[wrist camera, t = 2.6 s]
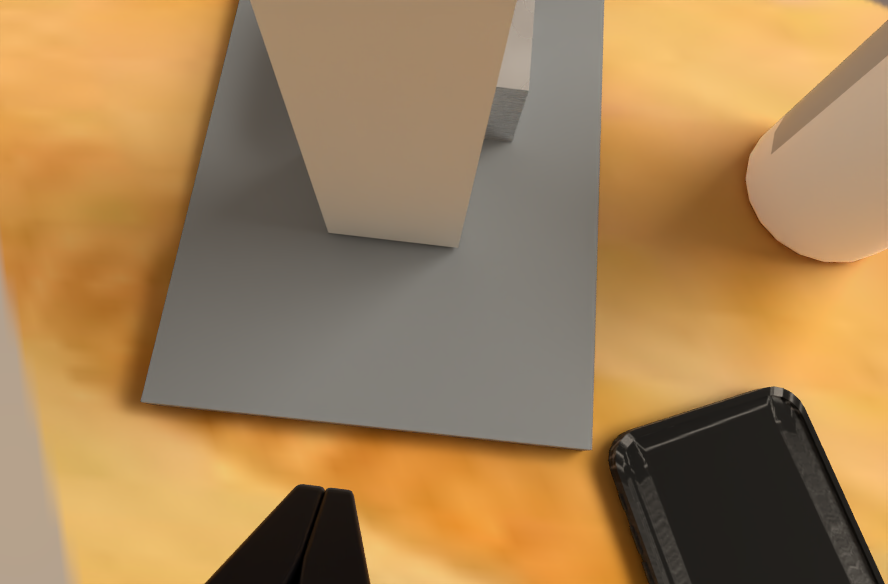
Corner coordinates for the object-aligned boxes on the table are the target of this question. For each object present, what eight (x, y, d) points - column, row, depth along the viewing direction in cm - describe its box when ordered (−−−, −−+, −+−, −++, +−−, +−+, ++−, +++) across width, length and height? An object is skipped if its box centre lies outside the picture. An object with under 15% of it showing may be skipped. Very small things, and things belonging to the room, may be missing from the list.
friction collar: (512, 142, 24) (528, 90, 21) (304, 116, 24) (287, 60, 21) (521, 12, 26) (538, -55, 23) (329, -13, 26) (317, -84, 23)
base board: (583, 450, 22) (591, 450, 21) (152, 404, 21) (140, 401, 21) (597, 13, 28) (604, -4, 27) (256, -31, 27) (251, -49, 26)
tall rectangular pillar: (460, 250, 23) (539, -61, 9) (325, 234, 22) (205, -106, 9) (472, 132, 24) (554, -285, 11) (345, 116, 24) (267, -326, 11)
